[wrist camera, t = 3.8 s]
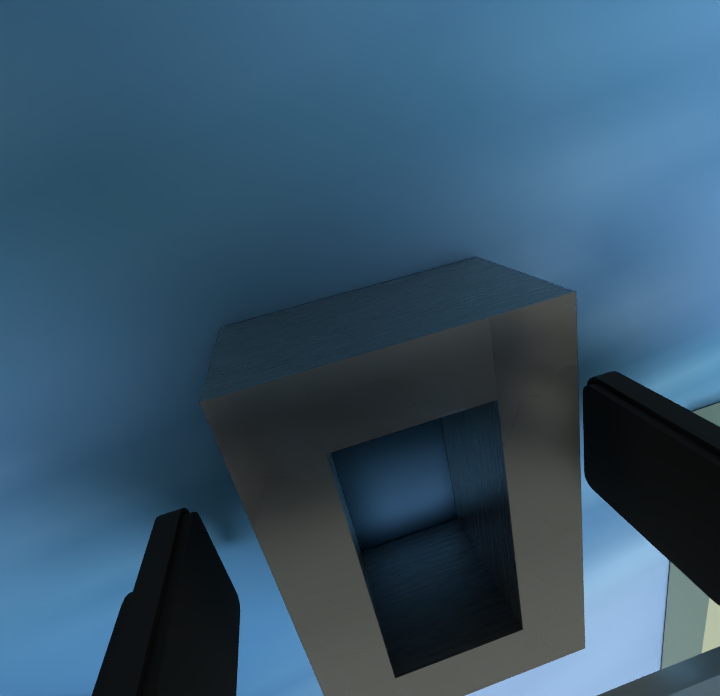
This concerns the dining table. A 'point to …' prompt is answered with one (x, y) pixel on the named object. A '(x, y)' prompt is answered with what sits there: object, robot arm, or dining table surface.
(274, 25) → the dining table surface
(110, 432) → the dining table surface
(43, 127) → the dining table surface
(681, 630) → the keeper board
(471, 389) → the grey rectangular frame
